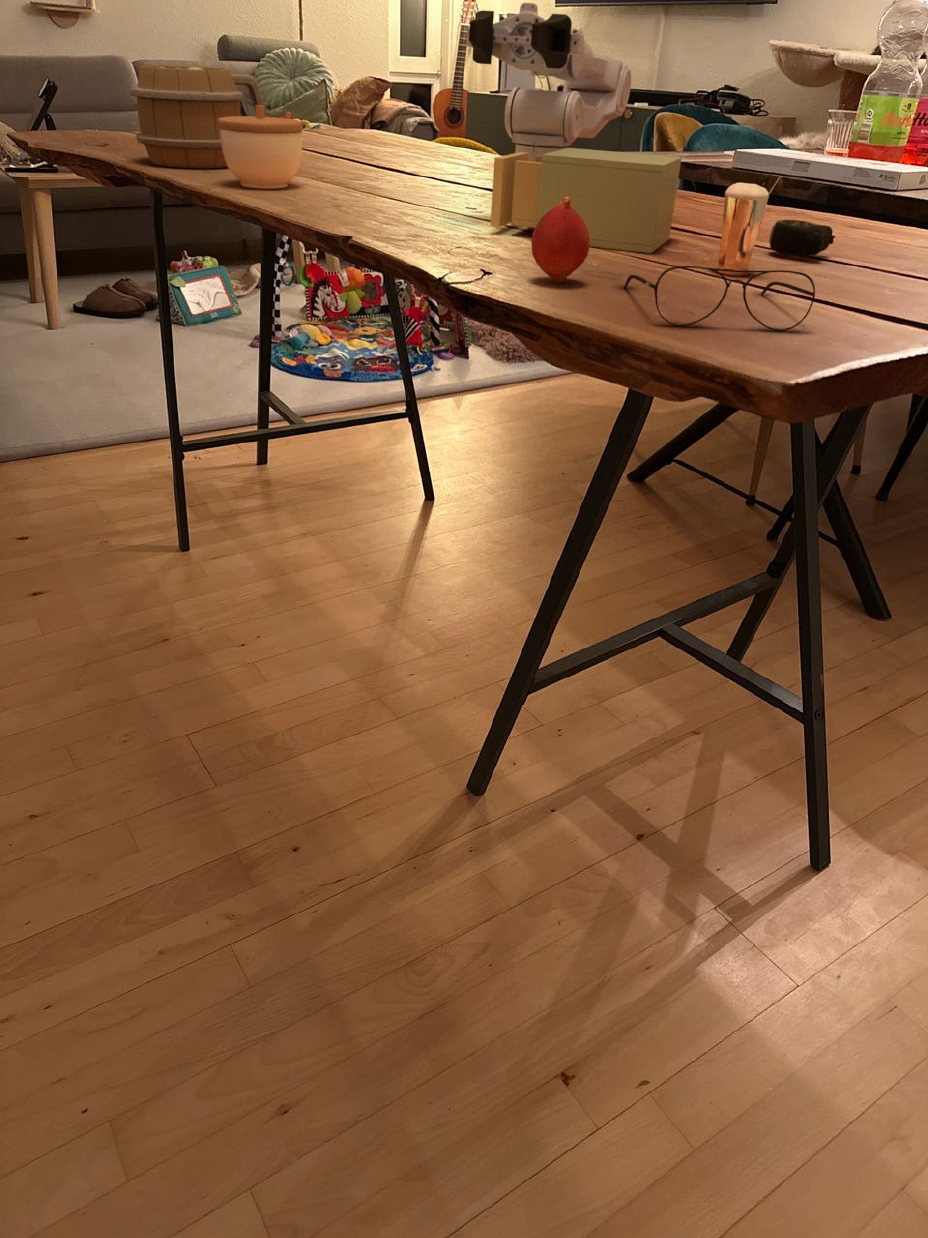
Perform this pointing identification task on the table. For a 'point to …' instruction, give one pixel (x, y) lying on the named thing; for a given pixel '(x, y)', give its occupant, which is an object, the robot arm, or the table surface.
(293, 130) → the lidded bowl
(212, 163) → the mug
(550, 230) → the onion
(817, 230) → the tape measure
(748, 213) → the milkshake
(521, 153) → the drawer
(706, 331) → the table surface
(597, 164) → the cabinet
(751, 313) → the glasses
